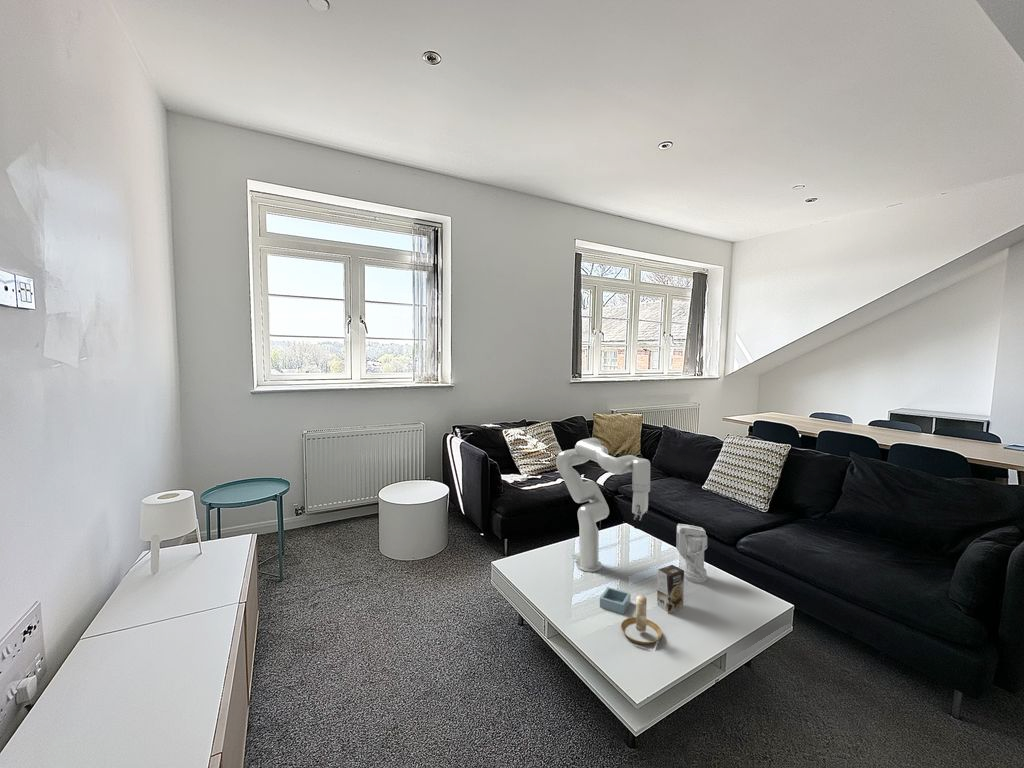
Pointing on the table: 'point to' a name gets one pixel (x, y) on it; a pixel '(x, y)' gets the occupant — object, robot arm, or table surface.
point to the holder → (615, 600)
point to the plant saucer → (648, 622)
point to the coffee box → (670, 588)
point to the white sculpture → (692, 551)
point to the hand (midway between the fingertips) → (640, 524)
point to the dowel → (641, 613)
